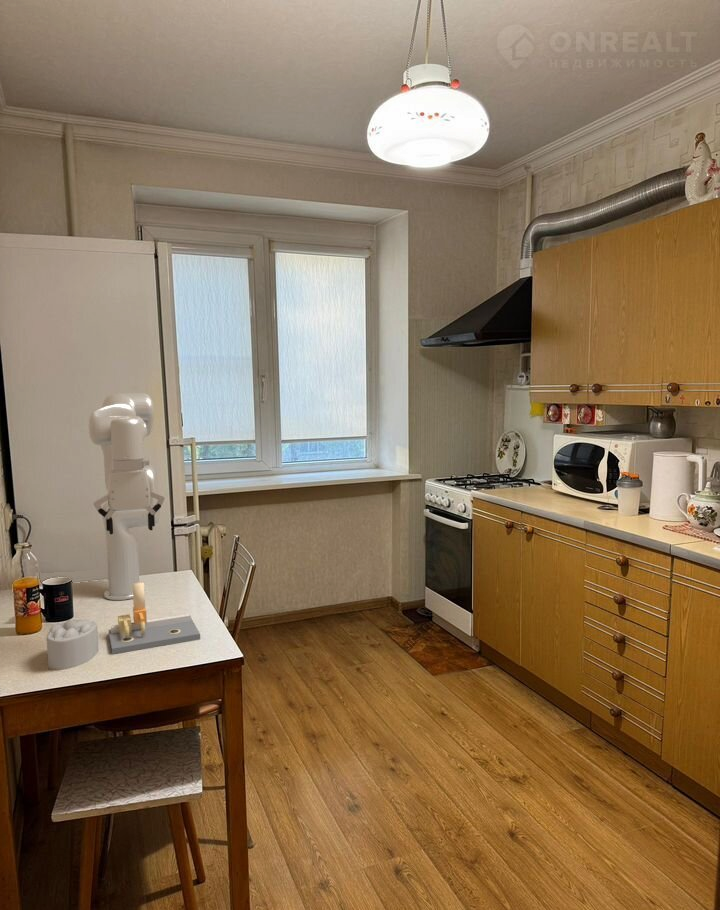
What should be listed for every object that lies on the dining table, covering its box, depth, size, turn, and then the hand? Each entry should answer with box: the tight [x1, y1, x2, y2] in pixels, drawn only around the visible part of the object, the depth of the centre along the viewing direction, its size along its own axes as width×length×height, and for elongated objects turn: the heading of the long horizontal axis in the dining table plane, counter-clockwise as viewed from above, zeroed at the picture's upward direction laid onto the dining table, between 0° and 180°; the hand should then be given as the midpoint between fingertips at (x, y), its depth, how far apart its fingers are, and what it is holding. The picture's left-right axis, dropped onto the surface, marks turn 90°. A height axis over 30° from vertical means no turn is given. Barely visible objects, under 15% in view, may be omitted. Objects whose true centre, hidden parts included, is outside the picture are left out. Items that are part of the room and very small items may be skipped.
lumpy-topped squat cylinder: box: [46, 619, 100, 671], centre depth 157 cm, size 10×13×9 cm
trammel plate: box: [108, 613, 201, 655], centre depth 170 cm, size 14×22×5 cm, turn 115°
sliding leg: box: [132, 581, 148, 636], centre depth 170 cm, size 10×3×12 cm, turn 25°
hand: (131, 531), depth 163 cm, fingers open, 9 cm apart
